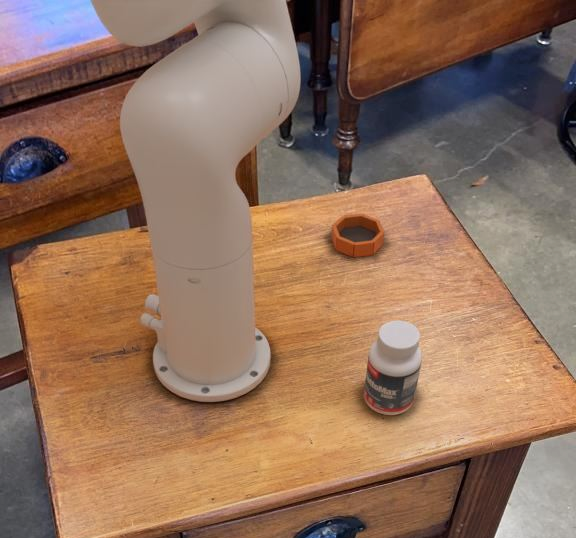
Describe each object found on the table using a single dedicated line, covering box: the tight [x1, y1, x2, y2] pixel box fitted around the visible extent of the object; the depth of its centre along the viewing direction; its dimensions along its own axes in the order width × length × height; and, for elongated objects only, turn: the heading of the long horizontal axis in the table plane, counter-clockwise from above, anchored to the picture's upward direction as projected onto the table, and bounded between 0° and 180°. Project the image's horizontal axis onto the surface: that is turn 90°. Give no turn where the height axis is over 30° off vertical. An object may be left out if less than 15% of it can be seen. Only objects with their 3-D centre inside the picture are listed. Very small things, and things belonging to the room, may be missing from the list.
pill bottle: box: [363, 319, 423, 416], centre depth 83 cm, size 5×5×9 cm
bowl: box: [330, 213, 385, 258], centre depth 101 cm, size 6×6×2 cm
